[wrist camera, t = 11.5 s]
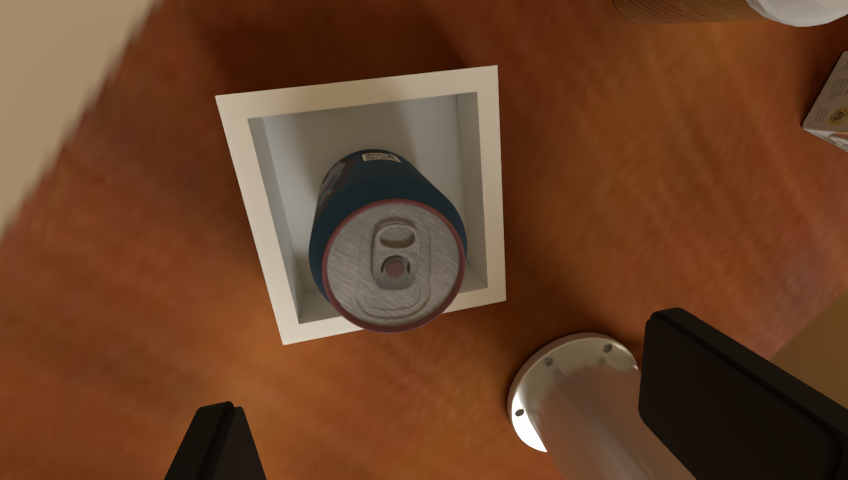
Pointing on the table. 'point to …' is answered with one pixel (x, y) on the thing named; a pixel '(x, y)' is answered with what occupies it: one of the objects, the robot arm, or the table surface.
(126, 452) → the table surface
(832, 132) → the coffee box
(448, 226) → the soda can
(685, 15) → the disposable coffee cup
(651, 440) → the robot arm
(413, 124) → the walled box
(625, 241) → the table surface
